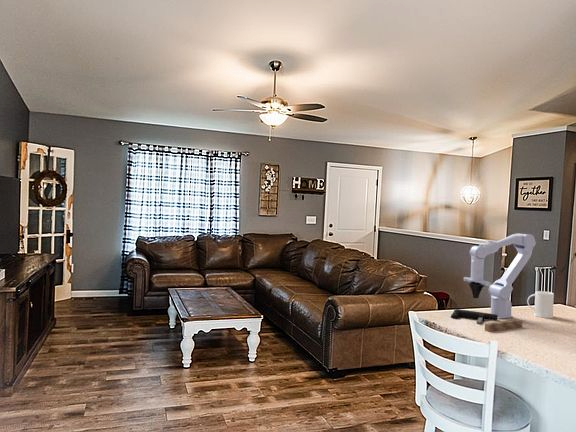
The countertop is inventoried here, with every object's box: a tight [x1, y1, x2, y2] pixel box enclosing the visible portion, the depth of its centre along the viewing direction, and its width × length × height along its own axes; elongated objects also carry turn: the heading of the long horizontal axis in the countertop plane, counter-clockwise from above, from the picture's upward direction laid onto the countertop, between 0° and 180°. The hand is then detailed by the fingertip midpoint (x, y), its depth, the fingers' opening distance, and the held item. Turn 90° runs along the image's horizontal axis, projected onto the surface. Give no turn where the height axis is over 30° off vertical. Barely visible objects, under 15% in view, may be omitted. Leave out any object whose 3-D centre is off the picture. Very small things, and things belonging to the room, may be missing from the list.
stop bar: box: [484, 318, 523, 333], centre depth 198 cm, size 22×2×3 cm, turn 116°
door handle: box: [450, 308, 499, 325], centre depth 213 cm, size 3×20×16 cm
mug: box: [526, 290, 555, 319], centre depth 225 cm, size 12×8×12 cm
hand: (475, 297), depth 218 cm, fingers closed
